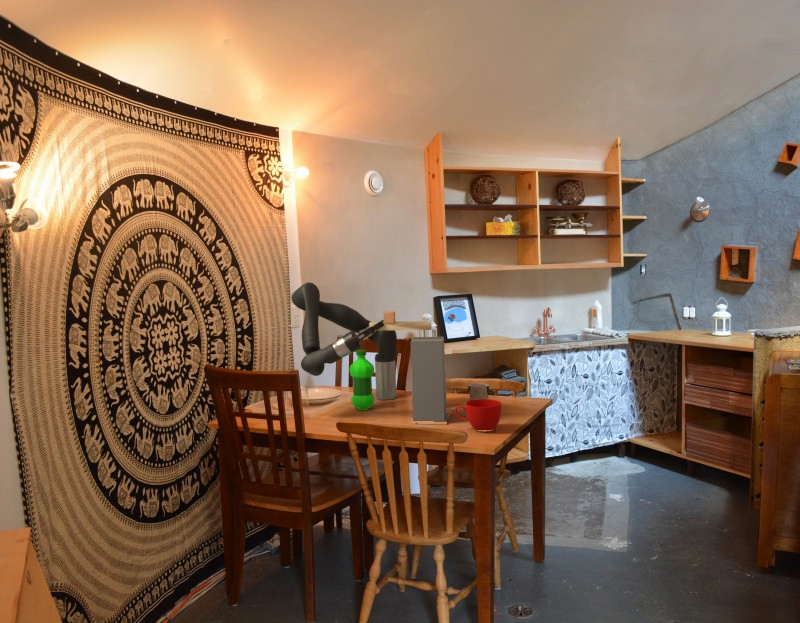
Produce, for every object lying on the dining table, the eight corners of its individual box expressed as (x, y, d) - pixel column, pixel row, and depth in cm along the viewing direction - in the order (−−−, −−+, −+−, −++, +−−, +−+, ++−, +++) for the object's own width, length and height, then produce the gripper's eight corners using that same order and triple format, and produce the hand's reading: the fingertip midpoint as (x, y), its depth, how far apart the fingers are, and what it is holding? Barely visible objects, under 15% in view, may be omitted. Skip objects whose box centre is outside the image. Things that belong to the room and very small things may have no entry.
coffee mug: (491, 411, 256) (490, 386, 256) (470, 411, 256) (469, 387, 256) (486, 404, 268) (486, 381, 267) (466, 405, 268) (466, 382, 267)
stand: (414, 415, 254) (411, 336, 251) (448, 415, 252) (446, 336, 249) (410, 424, 240) (407, 341, 237) (446, 424, 238) (444, 341, 235)
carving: (487, 416, 248) (487, 386, 247) (468, 416, 249) (468, 386, 248) (488, 412, 254) (487, 383, 253) (469, 412, 255) (469, 383, 254)
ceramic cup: (456, 424, 237) (456, 398, 237) (502, 425, 235) (501, 399, 234) (454, 434, 225) (453, 407, 224) (501, 435, 222) (501, 407, 221)
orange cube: (385, 321, 247) (384, 311, 246) (395, 321, 246) (395, 311, 246) (383, 322, 243) (383, 312, 242) (393, 322, 242) (393, 312, 242)
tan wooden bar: (371, 329, 247) (370, 322, 247) (431, 328, 244) (431, 321, 244) (369, 330, 244) (369, 322, 244) (430, 329, 241) (430, 322, 241)
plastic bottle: (355, 412, 261) (353, 353, 259) (348, 407, 270) (346, 350, 268) (378, 409, 264) (376, 351, 262) (370, 404, 274) (368, 348, 272)
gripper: (338, 338, 240) (375, 316, 238) (345, 334, 254) (381, 312, 252) (348, 355, 240) (386, 332, 238) (355, 349, 254) (391, 328, 252)
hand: (383, 322), depth 245 cm, fingers closed on tan wooden bar, 3 cm apart
